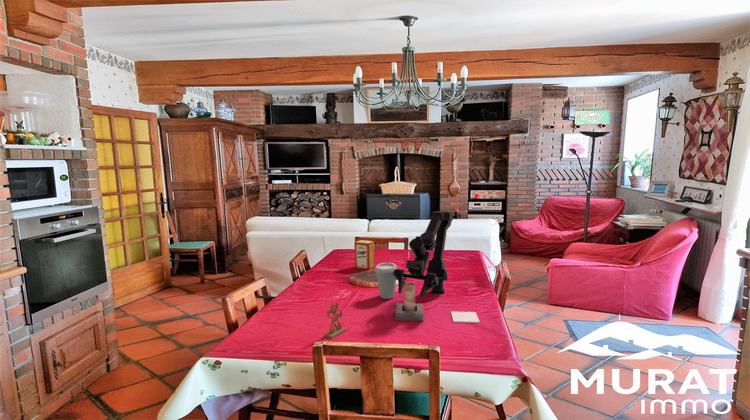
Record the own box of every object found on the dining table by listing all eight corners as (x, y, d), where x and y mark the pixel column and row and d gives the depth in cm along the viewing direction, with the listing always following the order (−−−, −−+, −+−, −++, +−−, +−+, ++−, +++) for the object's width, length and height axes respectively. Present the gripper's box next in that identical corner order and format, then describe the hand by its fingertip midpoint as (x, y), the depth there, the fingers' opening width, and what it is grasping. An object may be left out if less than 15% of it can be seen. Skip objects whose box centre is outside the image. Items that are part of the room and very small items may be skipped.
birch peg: (404, 313, 166) (404, 282, 164) (415, 313, 166) (415, 282, 164) (404, 317, 162) (403, 286, 160) (415, 317, 161) (415, 286, 160)
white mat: (451, 312, 166) (451, 311, 166) (475, 313, 165) (475, 312, 165) (453, 322, 156) (453, 321, 156) (479, 323, 155) (479, 321, 155)
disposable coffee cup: (396, 301, 180) (395, 268, 178) (372, 299, 182) (372, 267, 181) (399, 293, 191) (399, 262, 189) (377, 292, 193) (376, 261, 191)
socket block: (396, 310, 170) (396, 303, 169) (422, 310, 169) (422, 303, 168) (395, 320, 159) (395, 313, 158) (423, 321, 158) (423, 313, 157)
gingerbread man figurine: (338, 328, 152) (337, 297, 151) (346, 330, 150) (346, 299, 149) (323, 336, 145) (322, 304, 143) (331, 339, 143) (330, 307, 141)
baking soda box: (355, 268, 236) (354, 241, 234) (361, 265, 242) (360, 239, 240) (368, 270, 231) (368, 242, 229) (374, 267, 237) (374, 240, 235)
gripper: (394, 249, 170) (382, 282, 162) (436, 254, 161) (426, 288, 153) (402, 263, 178) (391, 295, 169) (442, 268, 169) (433, 302, 161)
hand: (409, 295), depth 163 cm, fingers open, 9 cm apart
